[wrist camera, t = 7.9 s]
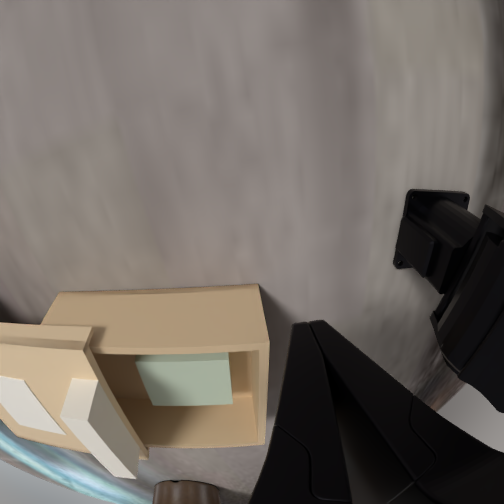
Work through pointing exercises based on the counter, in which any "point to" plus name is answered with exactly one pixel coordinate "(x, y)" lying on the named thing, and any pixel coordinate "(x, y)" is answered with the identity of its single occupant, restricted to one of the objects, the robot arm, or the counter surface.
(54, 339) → the lid
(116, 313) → the mailer box
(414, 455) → the robot arm
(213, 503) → the plant pot
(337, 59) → the counter surface
